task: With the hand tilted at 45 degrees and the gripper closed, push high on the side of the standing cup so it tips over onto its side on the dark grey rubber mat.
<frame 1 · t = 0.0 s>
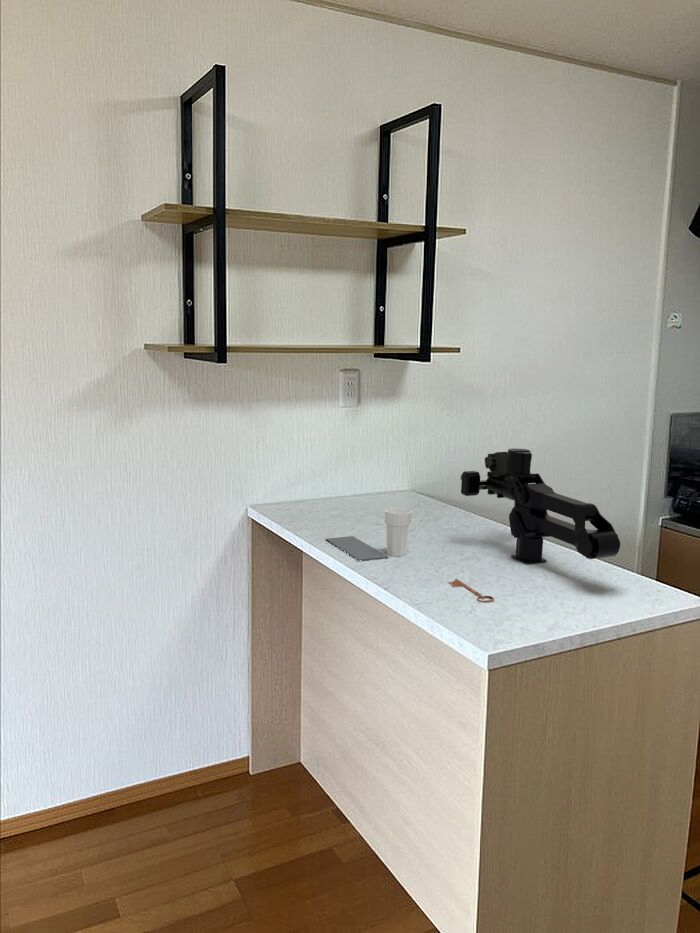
hand: (475, 475, 227), 17 cm above the worktop, tool horizontal, fingers open, 9 cm apart
mat: (355, 548, 212), on the worktop
key: (467, 593, 182), on the worktop
cup: (396, 554, 209), on the worktop
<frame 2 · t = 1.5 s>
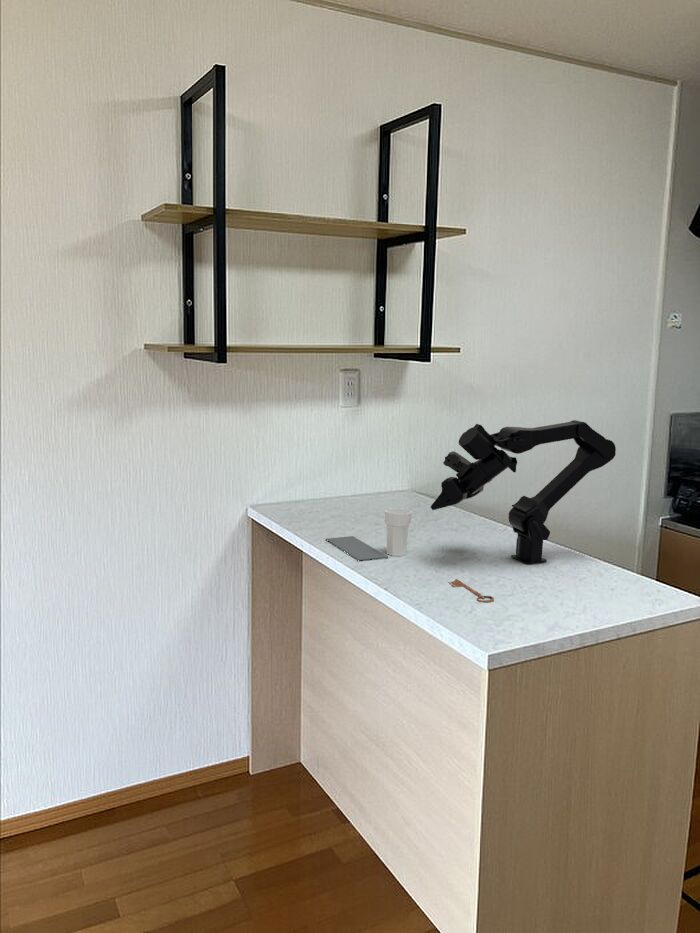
hand: (437, 505, 206), 13 cm above the worktop, tool tilted 50°, fingers open, 9 cm apart
nothing on the worktop moved.
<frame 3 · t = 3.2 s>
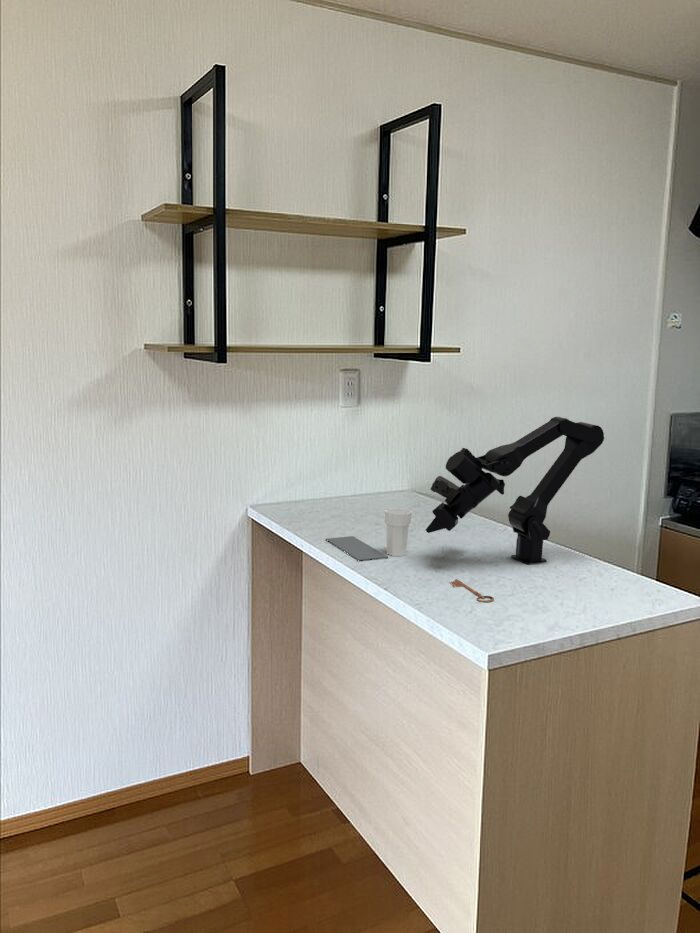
hand: (427, 531, 205), 7 cm above the worktop, tool tilted 45°, fingers closed
nothing on the worktop moved.
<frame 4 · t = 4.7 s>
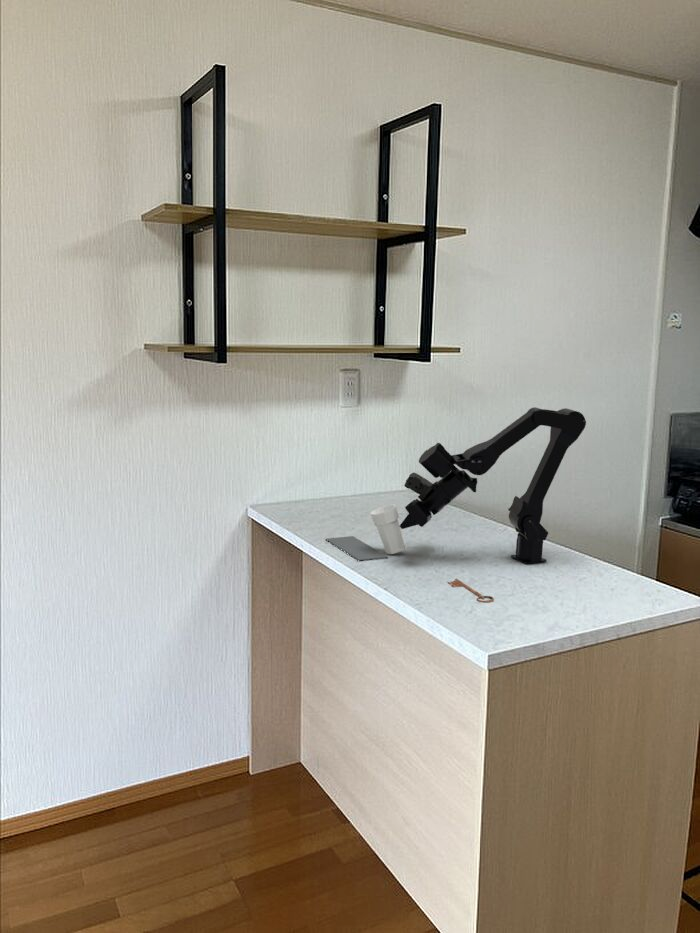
hand: (401, 527, 207), 7 cm above the worktop, tool tilted 45°, fingers closed
cup: (396, 550, 209), point 1 cm above the worktop, touching gripper
everything else where it was.
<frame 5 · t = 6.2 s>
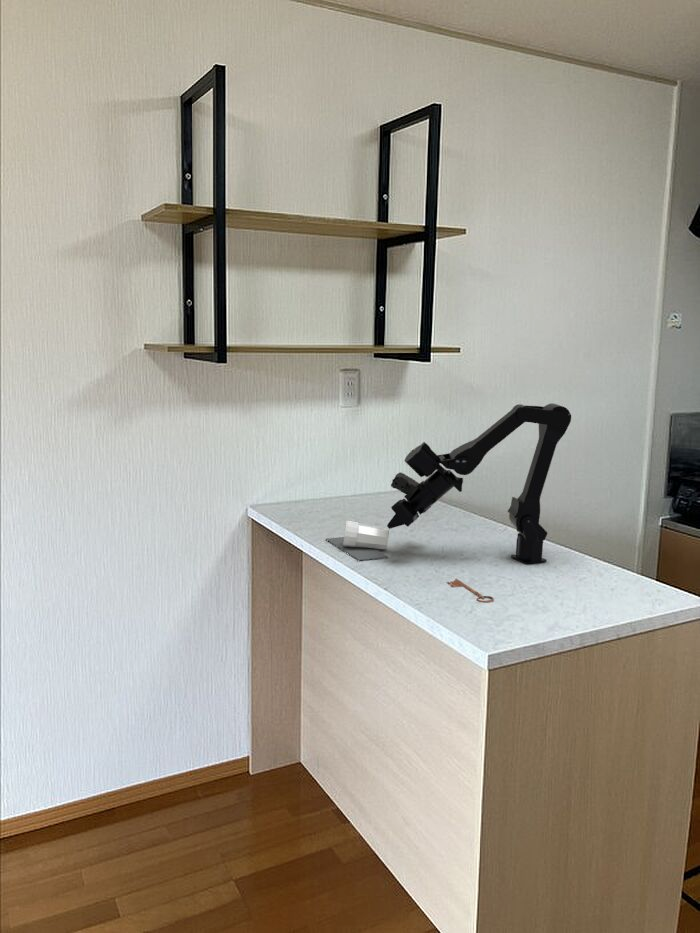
hand: (388, 527, 209), 7 cm above the worktop, tool tilted 45°, fingers closed
cup: (388, 539, 211), point 3 cm above the worktop, touching mat
everything else where it was.
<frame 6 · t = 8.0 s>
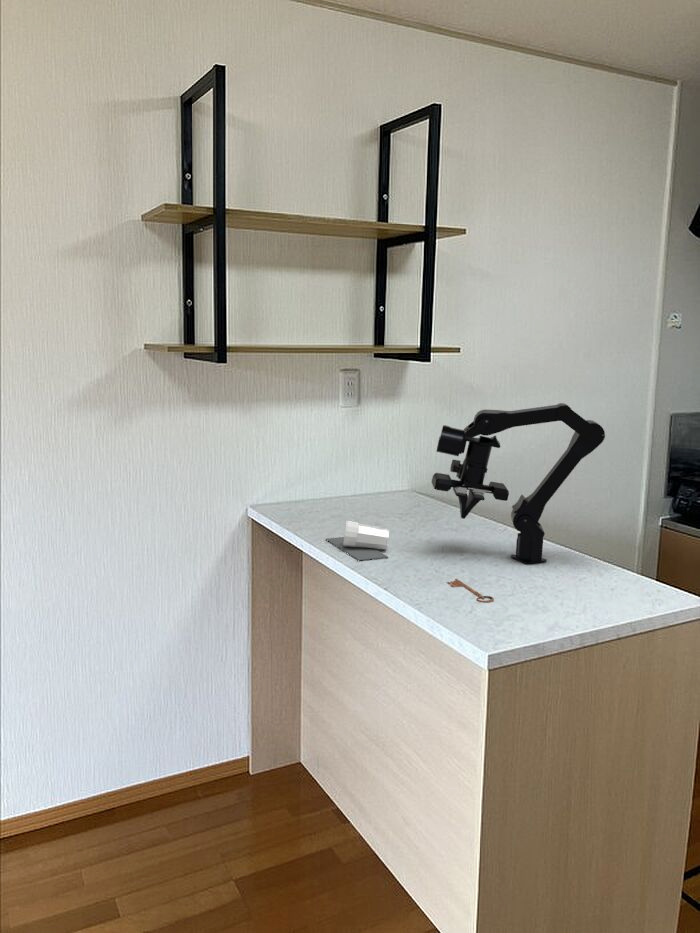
hand: (462, 518, 209), 9 cm above the worktop, tool pointing down, fingers closed
nothing on the worktop moved.
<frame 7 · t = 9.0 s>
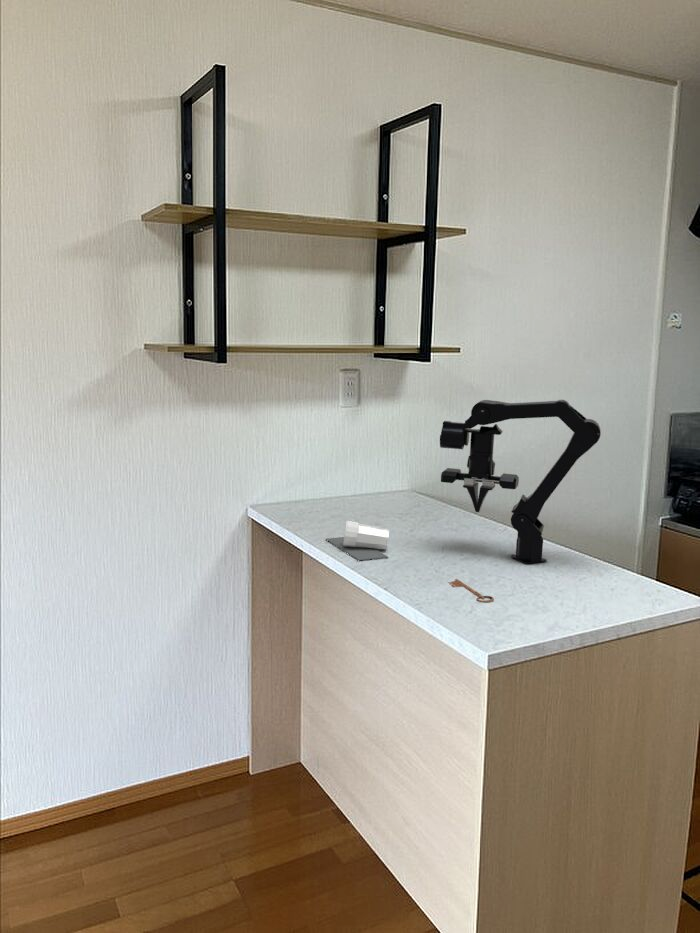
hand: (477, 511, 209), 11 cm above the worktop, tool pointing down, fingers closed
nothing on the worktop moved.
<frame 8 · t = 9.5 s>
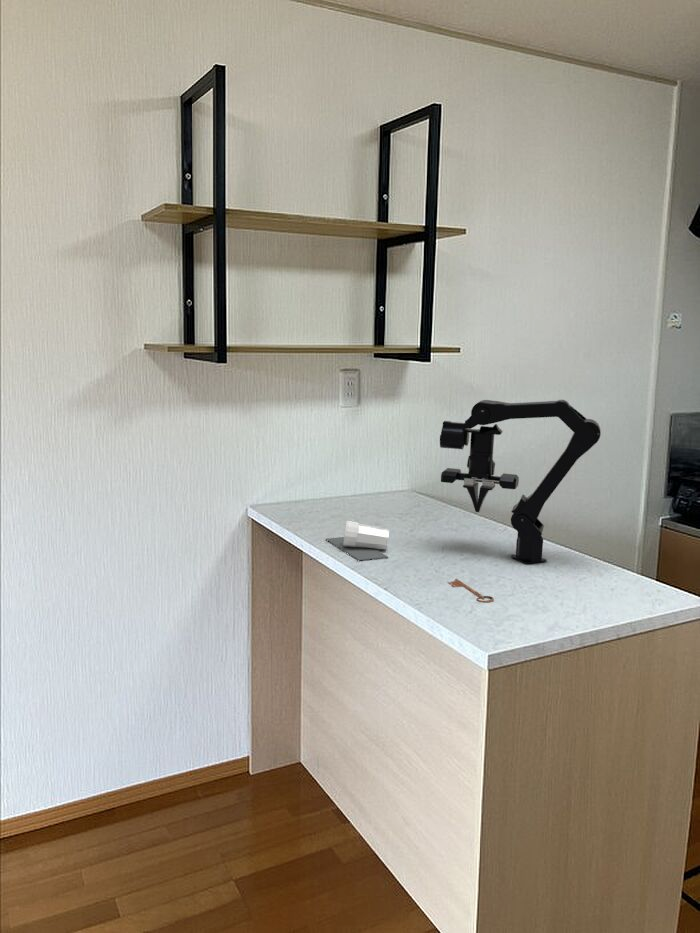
hand: (477, 511, 209), 11 cm above the worktop, tool pointing down, fingers closed
nothing on the worktop moved.
at the end: cup tilted 84°; cup touching mat; cup inside the target area (3.8 cm from its centre), point 2.8 cm above the worktop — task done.
